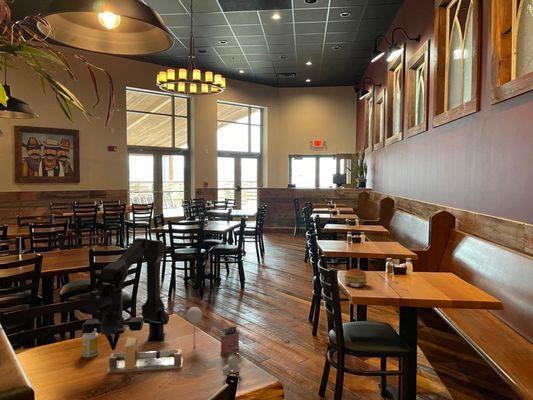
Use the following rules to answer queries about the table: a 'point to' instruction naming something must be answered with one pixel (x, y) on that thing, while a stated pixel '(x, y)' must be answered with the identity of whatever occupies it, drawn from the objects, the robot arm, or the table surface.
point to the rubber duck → (231, 365)
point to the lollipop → (194, 317)
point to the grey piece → (147, 361)
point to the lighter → (229, 341)
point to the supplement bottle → (90, 344)
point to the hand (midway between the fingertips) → (113, 349)
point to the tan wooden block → (130, 353)
